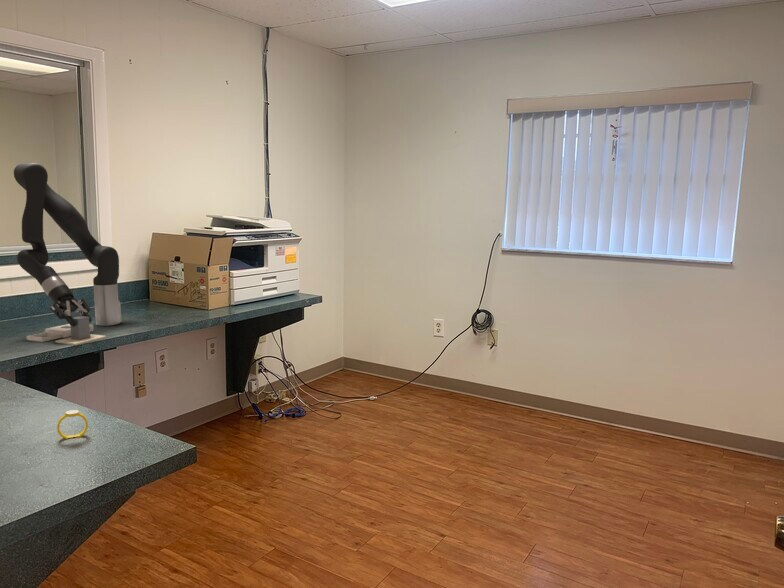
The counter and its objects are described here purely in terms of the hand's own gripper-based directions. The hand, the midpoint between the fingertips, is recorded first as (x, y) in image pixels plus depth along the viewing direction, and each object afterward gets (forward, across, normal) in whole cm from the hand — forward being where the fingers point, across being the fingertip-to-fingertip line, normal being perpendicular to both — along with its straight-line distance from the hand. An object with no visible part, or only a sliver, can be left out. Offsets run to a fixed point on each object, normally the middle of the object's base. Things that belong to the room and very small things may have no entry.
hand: (82, 323), depth 225 cm
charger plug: (+3, 0, +5) cm, 6 cm away
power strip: (-6, +3, +15) cm, 17 cm away
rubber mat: (+4, 0, +5) cm, 7 cm away
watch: (+58, -71, -49) cm, 104 cm away
